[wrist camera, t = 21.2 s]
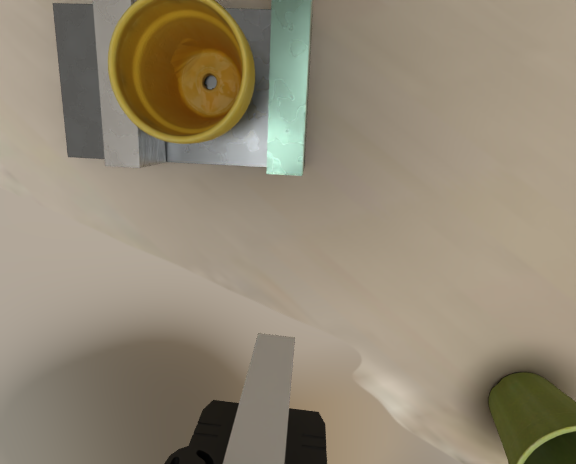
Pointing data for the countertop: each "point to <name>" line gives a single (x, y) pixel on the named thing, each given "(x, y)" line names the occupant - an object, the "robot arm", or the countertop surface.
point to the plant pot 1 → (181, 69)
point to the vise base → (256, 120)
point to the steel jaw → (115, 124)
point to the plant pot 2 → (534, 420)
